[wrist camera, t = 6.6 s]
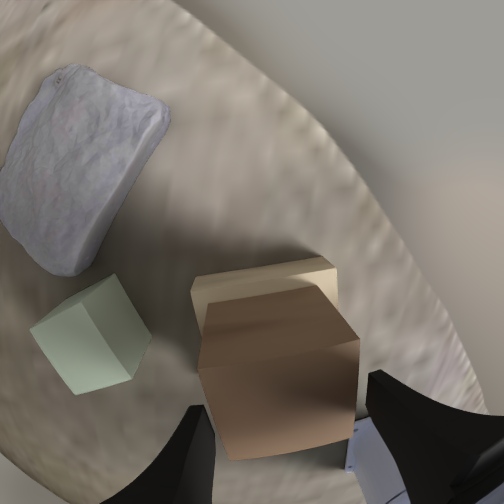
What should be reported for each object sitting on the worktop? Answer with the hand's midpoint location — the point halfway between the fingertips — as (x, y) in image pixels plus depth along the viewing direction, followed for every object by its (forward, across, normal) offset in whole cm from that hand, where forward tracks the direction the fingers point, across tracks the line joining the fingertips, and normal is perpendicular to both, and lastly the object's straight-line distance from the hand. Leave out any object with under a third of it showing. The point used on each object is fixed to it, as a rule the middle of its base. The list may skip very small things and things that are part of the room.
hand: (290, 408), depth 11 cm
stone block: (+8, +11, -13) cm, 19 cm away
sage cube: (+8, +11, -2) cm, 14 cm away
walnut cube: (+6, 0, 0) cm, 6 cm away
